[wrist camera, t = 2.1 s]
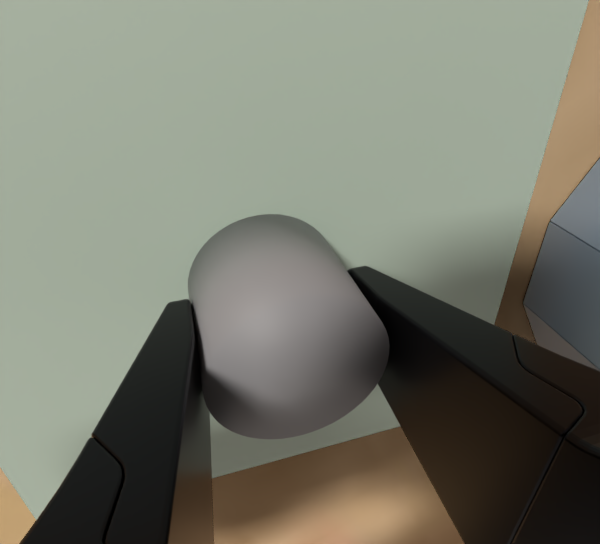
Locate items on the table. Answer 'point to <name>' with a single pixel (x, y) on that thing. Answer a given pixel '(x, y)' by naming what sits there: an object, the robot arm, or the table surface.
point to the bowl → (570, 278)
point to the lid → (253, 200)
